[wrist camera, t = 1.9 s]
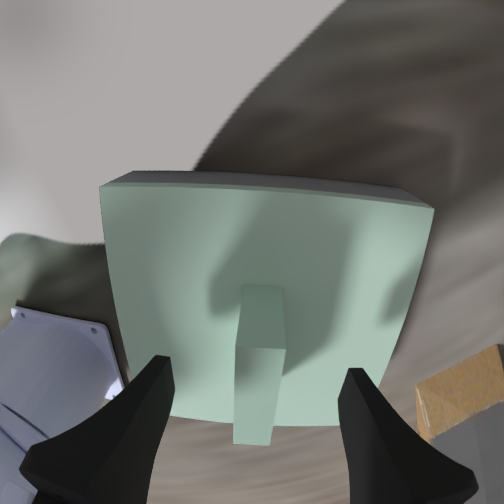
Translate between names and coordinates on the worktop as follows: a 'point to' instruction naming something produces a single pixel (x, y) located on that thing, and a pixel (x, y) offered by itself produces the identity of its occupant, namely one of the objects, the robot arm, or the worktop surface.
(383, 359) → the lid
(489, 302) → the worktop surface
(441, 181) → the worktop surface
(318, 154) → the worktop surface
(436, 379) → the sandwich container
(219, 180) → the tub
